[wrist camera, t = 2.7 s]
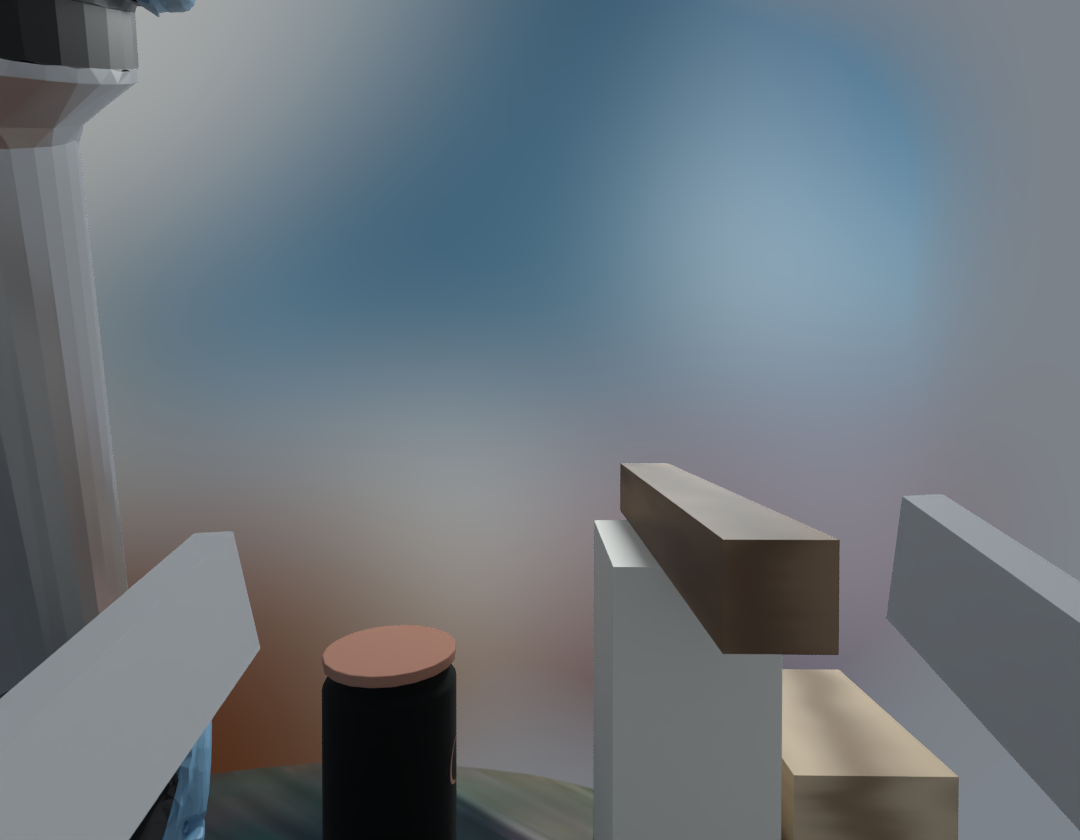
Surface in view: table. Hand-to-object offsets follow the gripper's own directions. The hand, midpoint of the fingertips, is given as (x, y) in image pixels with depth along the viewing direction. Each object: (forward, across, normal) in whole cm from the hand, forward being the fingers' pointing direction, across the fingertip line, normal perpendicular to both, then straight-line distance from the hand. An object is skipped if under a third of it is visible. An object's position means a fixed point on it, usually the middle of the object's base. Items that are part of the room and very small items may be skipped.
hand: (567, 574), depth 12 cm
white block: (+12, +5, -39) cm, 41 cm away
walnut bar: (+17, +6, -10) cm, 21 cm away
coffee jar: (+26, -15, -42) cm, 52 cm away
